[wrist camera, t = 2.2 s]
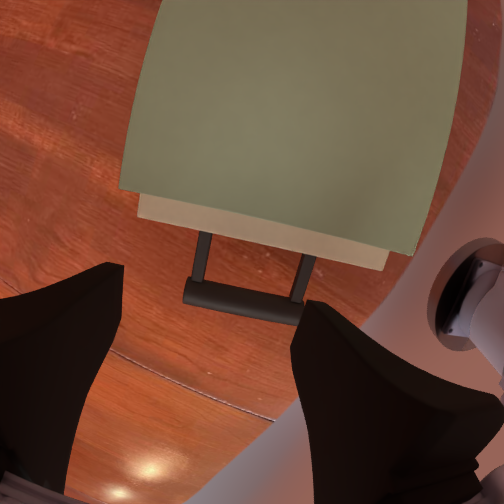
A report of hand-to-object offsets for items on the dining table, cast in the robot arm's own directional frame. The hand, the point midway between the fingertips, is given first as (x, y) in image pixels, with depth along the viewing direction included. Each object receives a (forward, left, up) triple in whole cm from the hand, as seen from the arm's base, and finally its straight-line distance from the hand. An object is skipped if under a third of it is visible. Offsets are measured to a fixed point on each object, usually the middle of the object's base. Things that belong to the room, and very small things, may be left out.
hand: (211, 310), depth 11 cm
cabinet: (-2, -10, -10) cm, 14 cm away
